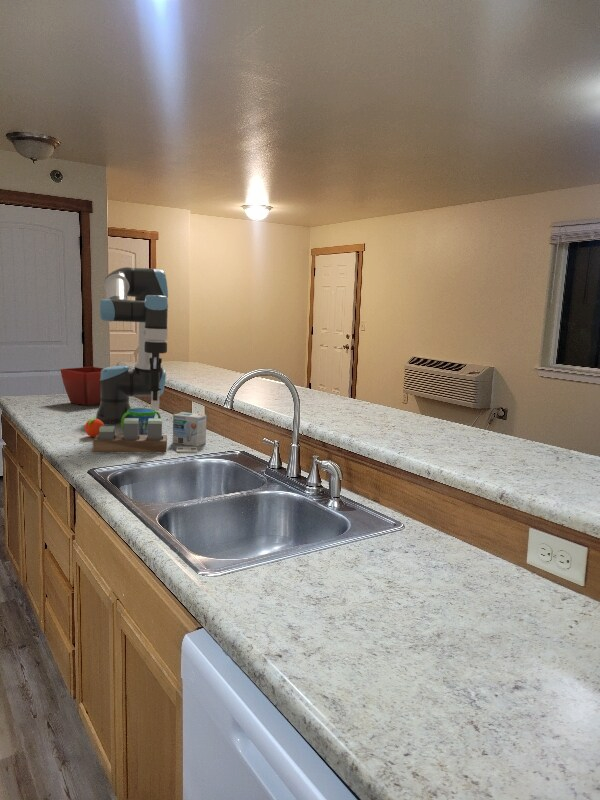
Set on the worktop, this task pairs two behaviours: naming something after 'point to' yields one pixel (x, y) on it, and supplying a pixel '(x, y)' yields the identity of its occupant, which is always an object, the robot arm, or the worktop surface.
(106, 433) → the button near
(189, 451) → the card
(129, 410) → the snack cup
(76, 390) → the plant pot
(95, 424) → the tomato
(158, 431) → the button far
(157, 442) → the button board
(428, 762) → the worktop surface
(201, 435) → the light bulb box
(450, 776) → the worktop surface
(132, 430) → the button mid
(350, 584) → the worktop surface
